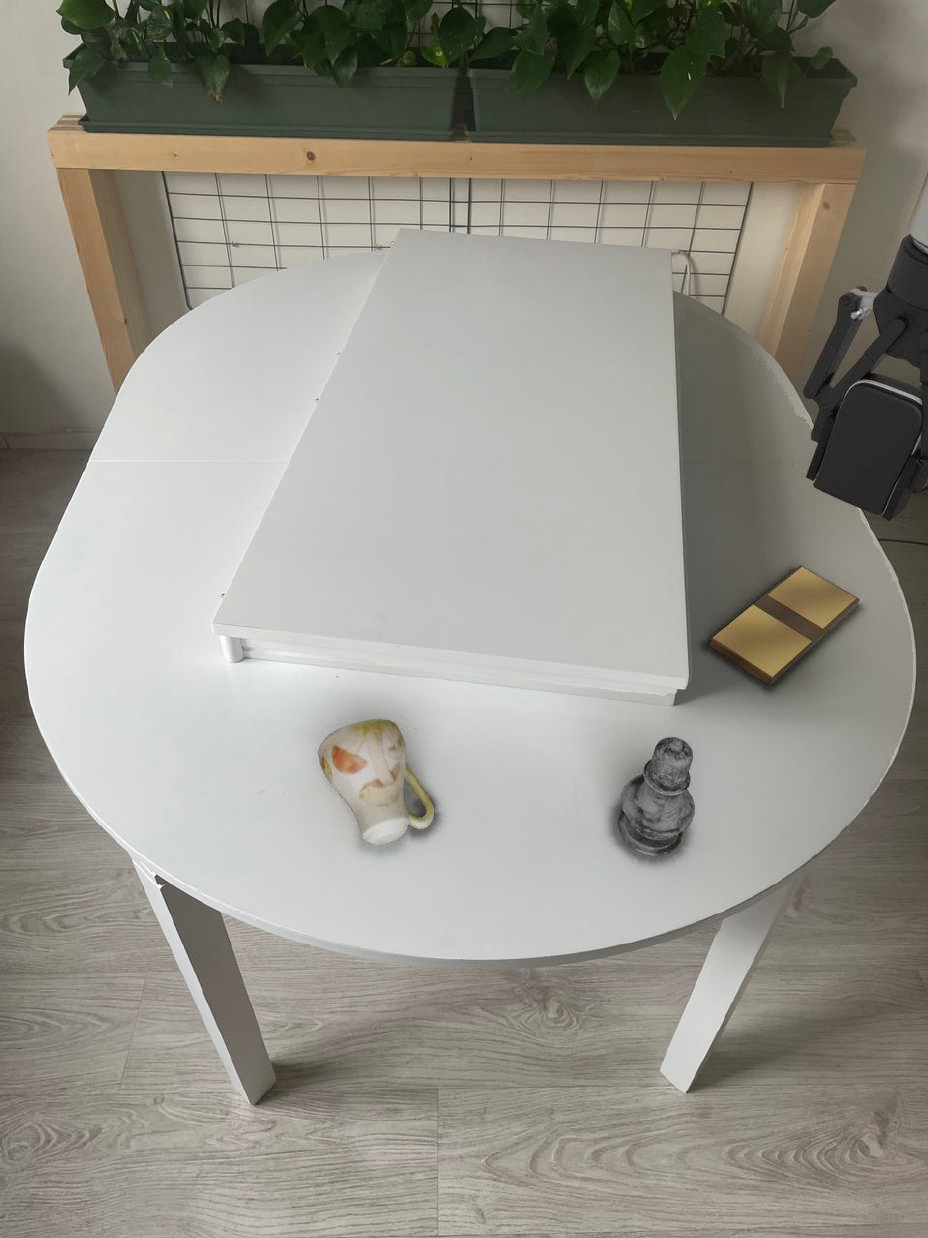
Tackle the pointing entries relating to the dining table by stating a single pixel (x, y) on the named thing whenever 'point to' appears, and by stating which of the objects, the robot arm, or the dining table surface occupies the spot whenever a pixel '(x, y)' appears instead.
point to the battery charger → (871, 442)
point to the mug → (373, 778)
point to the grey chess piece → (659, 800)
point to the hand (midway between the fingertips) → (854, 492)
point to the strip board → (784, 624)
